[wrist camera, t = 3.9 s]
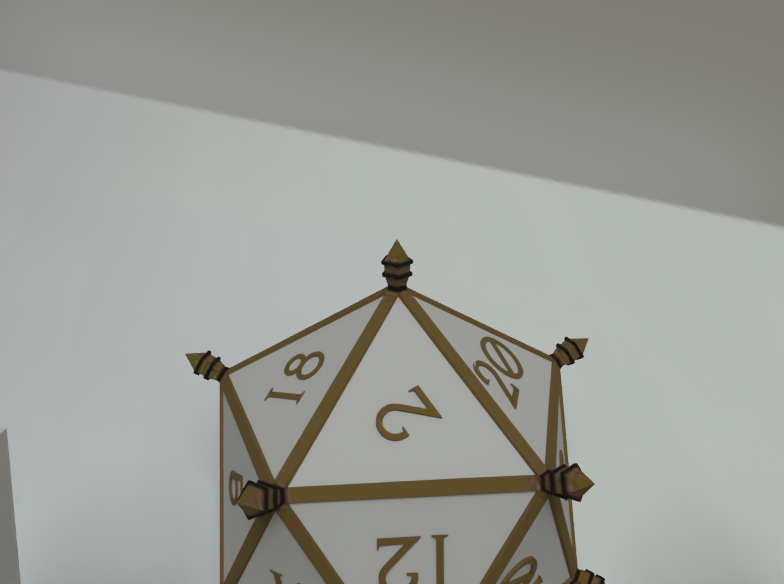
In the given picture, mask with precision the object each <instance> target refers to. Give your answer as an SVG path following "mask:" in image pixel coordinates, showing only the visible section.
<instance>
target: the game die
mask: <svg viewBox="0 0 784 584" xmlns="http://www.w3.org/2000/svg"><path fill="white" fill-rule="evenodd" d="M381 263H382V264H383V265H384V268H385V271H384V272H383V273H382V277H386V280H387V283H388V287H386V288H384V289H382V290H380V291H378V292H376V293H374V294H372V295H370V296H368V297H366V298H364V299H363V300H361V301H359V302H357V303H355V304H353V305H351V306H349V307H347V308H345V309H343V310H341V311H339V312H337V313H335V314H334V315H332V316H330V317H328V318H326V319H324V320H322V321H320V322H318V323H316V324H314V325H312V326H310V327H308V328H306V329H305V330H303V331H301V332H299V333H297V334H295V335H293V336H291V337H289V338H287V339H285V340H283V341H281V342H279V343H277V344H276V345H274V346H272V347H270V348H268V349H266V350H264V351H262V352H260V353H258V354H256V355H254V356H252V357H250V358H248V359H247V360H245V361H243V362H241V363H239V364H237V365H235V366H233V367H231V368H228V367H225V366H224V365H223V364H222V362H221V361H220V359H221V358H220V357H217V358H215V357H214V356H212V355H211V351H208V352H207V353H192V354H186V356H187V358H188V360H189V362H190V363H191V365H192V367H193V369H194V372H193V373H195V374H197V375H199V374H201V375H203V376H204V378H205V379H207V380H209V379H214V380H217V381H218V382H220V584H605V582H604V581H605V579H604V578H603V577H601V576H599V575H597V574H596V576H595V575H594V573H593V572H591V571H589V570H587V569H586V570H585V571H583V570H579V569H578V568H577V556H576V545H575V533H574V522H573V511H572V500H575V501H578V502H581V499H582V496H583V495H584V494H585V493H586V492H587V491H588V490H589V489H590V488H591V487H592V486H593V485H594V483H593V482H592V481H591V480H590V479H589V478H588V477H587V476H586V475H585V474H584V473H583V472H582V471H581V469H580V467H579V466H578V464H577V463H574V464H573V465H571V466H570V467H569V465H568V453H567V442H566V431H565V419H564V408H563V396H562V385H561V374H560V369H561V367H562V366H563V365H566V364H567V365H571V364H574V363H575V362H574V361H575V360H578V359H581V358H583V357H584V356H583V352H584V349H585V347H586V344H587V341H588V338H585V339H569V338H568V337H565V341H564V342H563V343H562V344H559V343H558V344H557V345H556V347H557V348H556V350H555V351H554V352H553V354H551V355H547V354H545V353H543V352H541V351H539V350H537V349H535V348H533V347H531V346H528V345H526V344H524V343H522V342H520V341H518V340H516V339H514V338H512V337H510V336H507V335H505V334H503V333H501V332H499V331H497V330H495V329H493V328H491V327H489V326H487V325H484V324H482V323H480V322H478V321H476V320H474V319H472V318H470V317H468V316H466V315H464V314H461V313H459V312H457V311H455V310H453V309H451V308H449V307H447V306H445V305H443V304H441V303H438V302H436V301H434V300H432V299H430V298H428V297H426V296H424V295H422V294H420V293H417V292H415V291H413V290H411V289H409V288H407V286H406V284H407V281H408V278H409V276H412V272H411V271H410V264H412V263H413V260H412V259H410V258H409V257H408V256H407V254H406V253H405V251H404V250H403V248H402V247H401V245H400V243H399V242H398V240H396V241H395V243H394V245H393V247H392V248H391V250H390V252H389V254H388V255H386V256H385V257H384V259H383V260H382V261H381Z"/></svg>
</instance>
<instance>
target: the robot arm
mask: <svg viewBox="0 0 784 584" xmlns="http://www.w3.org/2000/svg"><path fill="white" fill-rule="evenodd" d="M0 584H21V583H20V572H19V561H18V550H17V539H16V528H15V517H14V506H13V495H12V484H11V473H10V462H9V451H8V440H7V429H0Z"/></svg>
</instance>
